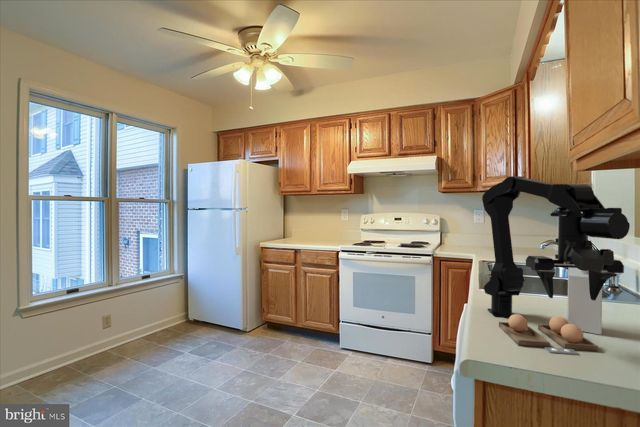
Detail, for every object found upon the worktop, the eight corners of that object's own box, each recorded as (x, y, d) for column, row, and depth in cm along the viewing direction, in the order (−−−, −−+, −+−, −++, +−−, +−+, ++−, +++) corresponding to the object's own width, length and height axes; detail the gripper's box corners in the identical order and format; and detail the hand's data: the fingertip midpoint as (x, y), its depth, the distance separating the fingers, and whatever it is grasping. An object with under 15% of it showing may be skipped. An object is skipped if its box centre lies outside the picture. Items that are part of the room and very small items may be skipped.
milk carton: (568, 322, 94) (569, 257, 94) (600, 327, 90) (601, 260, 89) (567, 329, 89) (568, 260, 88) (601, 335, 84) (602, 263, 84)
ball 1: (505, 327, 89) (505, 311, 88) (523, 328, 88) (523, 312, 88) (512, 333, 84) (512, 316, 84) (530, 334, 83) (530, 317, 83)
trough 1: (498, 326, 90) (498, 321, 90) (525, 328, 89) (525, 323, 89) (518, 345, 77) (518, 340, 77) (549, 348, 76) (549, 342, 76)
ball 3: (556, 337, 81) (557, 320, 81) (576, 339, 81) (576, 321, 80) (566, 345, 77) (567, 326, 77) (587, 346, 76) (587, 328, 76)
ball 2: (545, 329, 87) (545, 313, 87) (563, 331, 86) (564, 314, 86) (554, 336, 82) (554, 319, 82) (573, 337, 82) (573, 320, 82)
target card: (544, 348, 76) (544, 346, 76) (572, 350, 75) (572, 348, 75) (549, 352, 74) (549, 351, 74) (578, 354, 73) (578, 353, 73)
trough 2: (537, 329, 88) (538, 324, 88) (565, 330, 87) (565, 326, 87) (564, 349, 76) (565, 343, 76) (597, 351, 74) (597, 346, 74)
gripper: (547, 237, 72) (546, 306, 72) (644, 239, 69) (642, 311, 69) (525, 233, 83) (524, 293, 83) (607, 235, 80) (606, 297, 80)
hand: (571, 298), depth 79 cm, fingers open, 9 cm apart
